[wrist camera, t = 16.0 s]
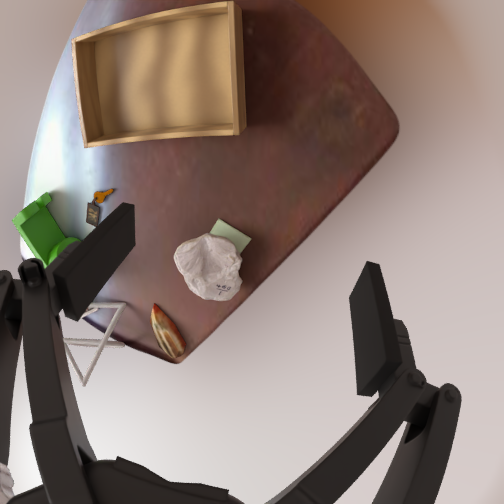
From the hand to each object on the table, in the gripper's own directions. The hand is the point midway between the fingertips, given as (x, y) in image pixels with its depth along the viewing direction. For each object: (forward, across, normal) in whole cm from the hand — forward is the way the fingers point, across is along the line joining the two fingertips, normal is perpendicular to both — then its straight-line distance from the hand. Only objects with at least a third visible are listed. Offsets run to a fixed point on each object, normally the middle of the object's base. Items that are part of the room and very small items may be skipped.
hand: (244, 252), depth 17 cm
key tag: (+21, -23, -13) cm, 34 cm away
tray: (+21, -15, +7) cm, 27 cm away
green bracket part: (+17, -33, -21) cm, 43 cm away
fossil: (+21, -5, -16) cm, 27 cm away
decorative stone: (+22, -12, -36) cm, 44 cm away
